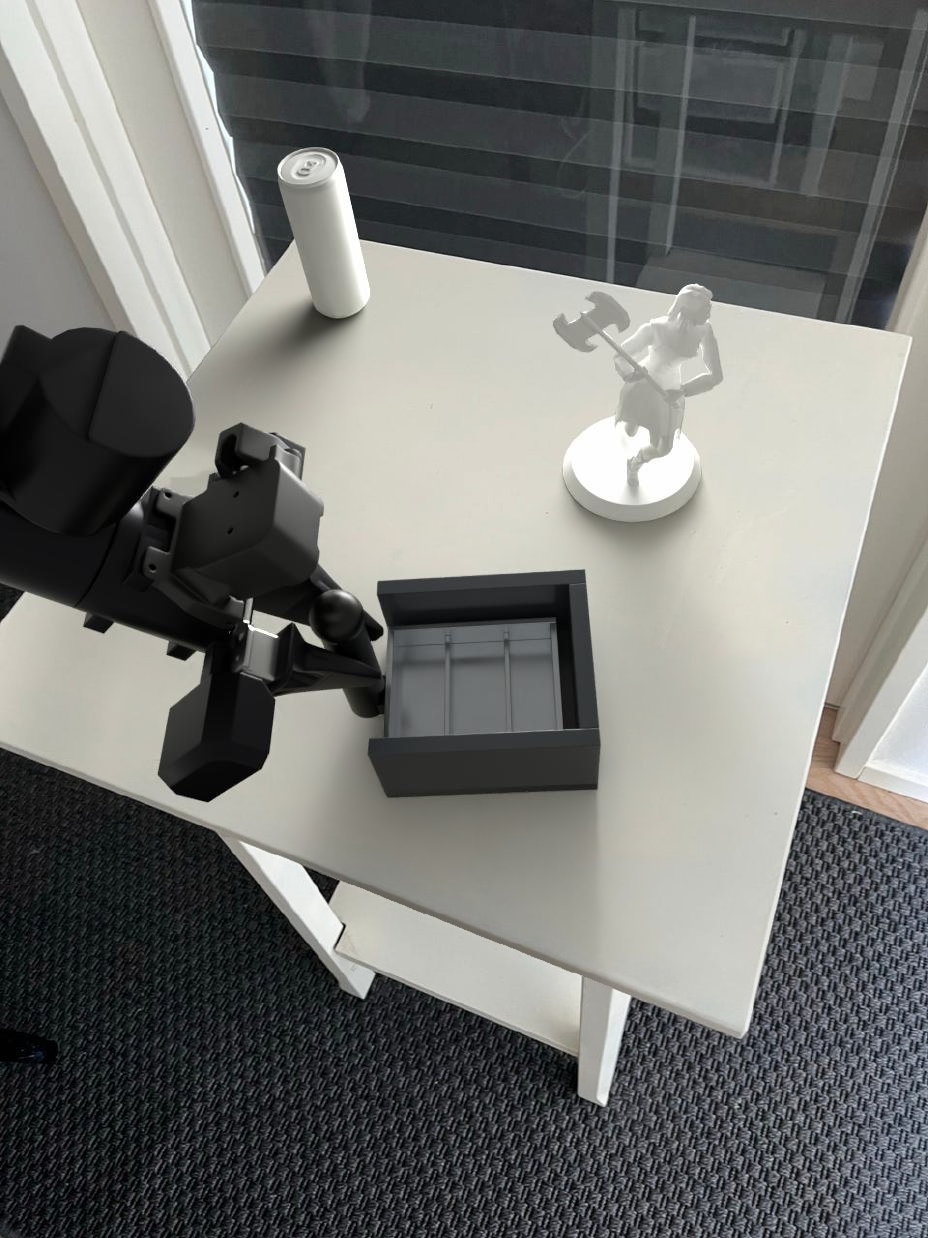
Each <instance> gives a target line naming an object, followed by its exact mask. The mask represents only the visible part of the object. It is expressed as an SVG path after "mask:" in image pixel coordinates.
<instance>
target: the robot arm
mask: <svg viewBox="0 0 928 1238" xmlns="http://www.w3.org/2000/svg"><path fill="white" fill-rule="evenodd" d="M196 419H197V418H196V405H195V402H194V399H193V396H192V393H191V389H190V388H189V386H188V384H187V382H186V380H185V379H184V377H183V376H182V373H180V371H179V370H178V369H177V368H176V366H174V364H173V363H172V362H171V361H170V360H169V358H167V357H166V356H165V355H164V354H162V353H161V352H160V351H159V350H158V349H157V348H156V347H154V346H153V345H151V344H150V343H148V342H147V341H146V340H143V339H142V338H141V337H139V336H137V335H134V334H132V333H130V332H128V331H126V330H119V331H114V330H111V329H110V330H109V329H106V328H102V327H89V326H84V327H83V326H82V327H76V328H70V329H67V330H64V331H62V332H60V333H58V334H56V335H54V336H53V337H52V338H50V337H48V336H46V335H44V334H43V333H40V332H38V331H36V330H35V329H33V328H30V327H29V326H27V325H24V324H17V325H14V327H13V329H12V331H11V332H10V335H9V337H8V338H7V340H6V342H5V345H4V348H3V350H2V353H1V356H0V584H2V585H5V586H8V587H11V588H14V589H17V590H20V591H23V592H25V593H28V594H31V595H34V596H37V597H40V598H43V599H45V600H49V601H51V602H55V603H57V604H60V605H63V606H66V607H70V608H72V609H75V610H78V611H80V612H83V613H85V617H84V621H83V625H82V628H85V629H88V630H91V631H93V632H97V633H100V634H102V635H105V633H107V631H109V629H110V628H111V627H112V626H113V625H114V624H118V625H120V626H124V627H126V628H130V629H133V630H136V631H138V632H141V633H144V634H148V635H149V636H153V637H155V638H158V639H162V640H163V641H167V642H168V643H167V647H166V648H167V649H166V653H165V655H166V656H168V657H171V658H174V659H177V660H180V661H183V662H186V661H187V660H189V659H190V658H191V657H192V656H193V655H194V654H196V652H199V653H201V654H204V657H203V663H202V669H201V674H200V679H199V684H198V685H196V686H195V687H194V688H193V689H191V690H190V691H189V692H187V694H185V695H184V696H183V697H182V698H180V699H179V700H178V701H177V702H176V703H174V704H173V705H172V706H171V707H170V708H169V710H168V715H167V720H166V727H165V731H164V737H163V742H162V746H161V747H162V748H161V753H160V759H159V762H158V763H159V764H158V769H157V776H158V777H159V779H160V780H162V782H163V783H164V784H165V785H166V786H167V788H168V789H170V790H171V791H172V792H173V794H175V795H176V796H179V797H184V798H187V799H191V800H195V801H200V802H204V803H210V802H212V801H214V799H216V798H218V797H220V796H221V795H223V794H225V793H226V792H227V791H229V790H231V789H232V788H234V787H235V786H237V785H239V784H240V783H242V782H244V781H245V780H246V779H248V778H250V777H251V776H253V775H254V774H256V773H258V772H259V771H261V770H262V769H263V767H264V765H265V763H266V762H267V759H268V757H269V755H270V751H271V743H272V736H273V728H274V727H273V725H274V719H275V710H276V702H277V700H276V698H277V697H281V696H286V695H291V694H298V693H299V694H300V693H309V692H320V691H332V690H341V689H342V690H343V688H354V687H365V686H372V685H374V684H375V683H377V682H378V681H380V680H381V672H382V671H381V672H380V671H378V670H376V669H374V668H372V667H370V666H368V665H366V664H364V663H362V662H360V661H357V660H354V659H351V658H349V657H346V656H343V655H340V654H338V653H335V652H332V651H329V650H327V649H325V648H324V647H321V646H319V645H316V644H313V643H310V642H308V641H306V640H305V638H304V637H303V635H302V633H301V632H300V630H299V629H298V626H297V625H296V624H299V625H304V626H306V627H310V628H311V626H310V622H309V612H310V608H311V606H312V604H313V602H314V601H315V600H316V598H317V597H318V596H320V595H321V594H323V593H324V592H327V591H330V590H344V589H343V588H342V586H340V585H339V584H338V583H337V582H336V581H335V580H334V579H333V578H332V577H331V576H330V575H329V574H328V572H326V570H325V569H324V568H323V567H322V566H321V564H319V561H320V554H321V553H320V549H319V546H318V542H319V532H320V522H321V518H322V517H323V516H324V512H325V503H324V501H323V499H322V497H320V496H319V495H318V494H317V493H316V492H314V491H313V490H312V489H311V488H310V487H309V486H308V485H307V484H306V483H304V482H303V473H304V465H305V456H306V449H307V448H306V447H305V446H303V445H301V444H300V443H297V442H295V441H293V440H292V439H290V438H288V437H286V436H284V435H282V434H280V433H278V432H276V431H272V432H271V431H270V432H267V431H264V430H262V429H260V428H256V427H255V426H253V425H252V426H251V425H249V424H247V423H244V422H242V421H241V422H238V423H236V424H234V425H232V426H230V427H228V428H225V429H224V430H222V431H220V432H219V434H218V439H217V445H216V450H215V455H214V467H215V468H216V471H217V472H216V471H214V472H211V473H210V474H209V475H208V479H207V484H206V489H205V490H204V491H203V492H201V493H199V494H197V495H191V494H185V493H180V492H178V491H176V490H175V489H172V488H169V487H162V488H159V487H157V486H155V485H153V483H154V482H155V481H156V480H157V479H158V477H159V476H160V475H161V474H162V473H163V471H164V470H165V469H166V468H167V467H168V465H169V464H170V463H171V461H173V460H174V458H175V457H176V456H177V454H178V453H179V452H180V451H181V450H182V449H183V447H184V446H185V444H186V443H187V442H188V440H189V439H190V437H191V435H192V433H193V431H194V429H195V425H196ZM254 611H255V612H258V613H261V614H266V615H268V616H271V617H275V618H278V619H282V620H286V621H290V623H288V624H287V625H286V626H285V627H283V628H282V629H281V630H279V631H278V633H275V634H274V633H271V632H268V631H266V630H263V629H260V628H258V627H255V626H254V625H253V624H252V623H253V616H254ZM364 613H365V621H364V624H365V626H366V629H367V632H368V635H369V638H370V641H371V642H376V641H378V640H379V639H381V638H382V637H383V636H384V634H385V633H384V631H385V629H384V627H383V626H382V625H381V624H380V623H379V622H378V621H377V620H376V619H375V618H374V617H373V616H372V615H371V614H369V612H368V611H366V609H364Z"/></svg>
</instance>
